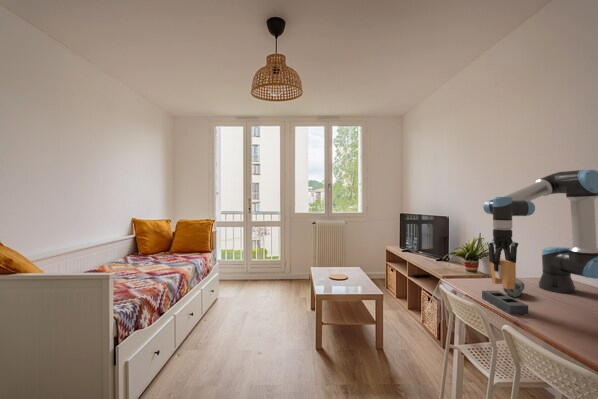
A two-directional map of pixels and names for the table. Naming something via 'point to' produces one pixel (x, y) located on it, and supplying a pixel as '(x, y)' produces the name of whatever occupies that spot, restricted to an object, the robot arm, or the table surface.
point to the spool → (517, 291)
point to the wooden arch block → (505, 274)
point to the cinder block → (505, 302)
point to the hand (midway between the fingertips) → (502, 277)
